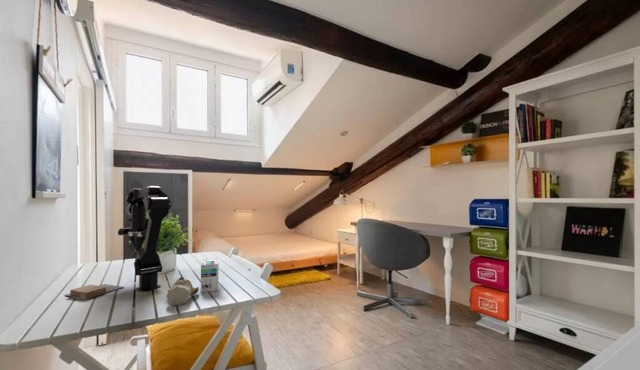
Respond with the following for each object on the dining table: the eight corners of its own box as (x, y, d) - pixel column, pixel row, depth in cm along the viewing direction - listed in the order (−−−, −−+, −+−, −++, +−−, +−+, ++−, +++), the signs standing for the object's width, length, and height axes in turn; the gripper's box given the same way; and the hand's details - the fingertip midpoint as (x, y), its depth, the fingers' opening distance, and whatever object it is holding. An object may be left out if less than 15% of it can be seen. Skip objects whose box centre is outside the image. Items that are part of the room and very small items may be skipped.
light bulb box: (218, 290, 115) (218, 263, 116) (200, 293, 113) (200, 265, 113) (217, 283, 125) (217, 258, 125) (200, 285, 123) (201, 259, 123)
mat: (123, 287, 119) (123, 286, 119) (84, 299, 105) (84, 298, 105) (104, 284, 123) (104, 283, 123) (64, 296, 109) (64, 294, 109)
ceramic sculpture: (159, 282, 97) (171, 273, 111) (158, 309, 96) (170, 297, 110) (194, 280, 99) (200, 272, 114) (193, 306, 98) (200, 295, 113)
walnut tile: (106, 287, 112) (90, 284, 115) (86, 292, 105) (70, 289, 108) (106, 292, 112) (90, 290, 115) (86, 298, 105) (70, 295, 108)
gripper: (169, 215, 134) (169, 249, 134) (140, 214, 141) (139, 247, 140) (148, 217, 124) (147, 254, 123) (117, 216, 130) (116, 251, 129)
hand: (138, 251), depth 129 cm, fingers closed
